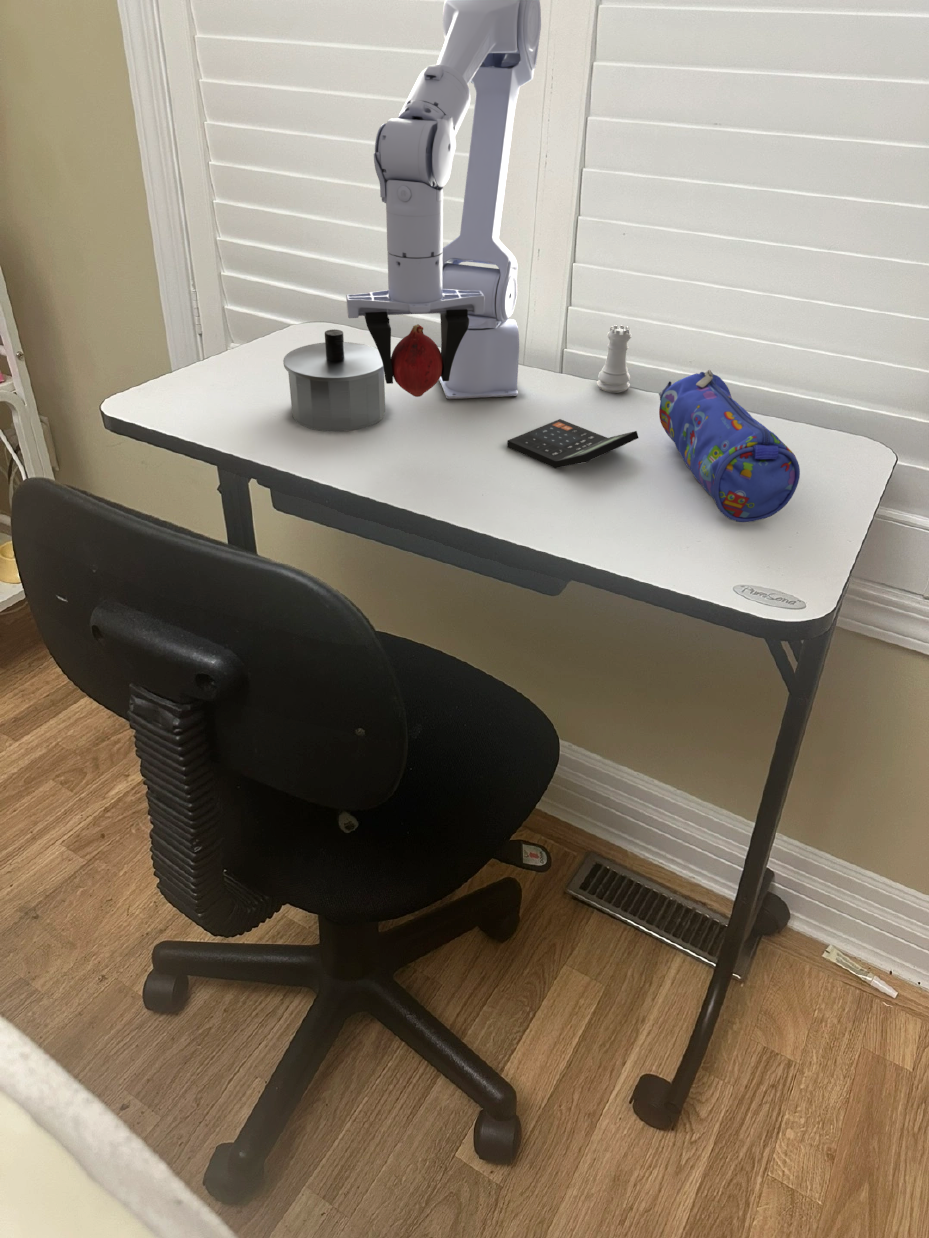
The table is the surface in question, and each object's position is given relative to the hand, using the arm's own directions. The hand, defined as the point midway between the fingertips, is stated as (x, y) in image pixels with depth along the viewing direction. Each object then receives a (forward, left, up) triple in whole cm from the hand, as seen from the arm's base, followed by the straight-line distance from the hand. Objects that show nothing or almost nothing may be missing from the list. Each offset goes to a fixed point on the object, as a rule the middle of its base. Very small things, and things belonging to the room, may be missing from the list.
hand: (416, 379), depth 101 cm
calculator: (-17, +4, -8) cm, 20 cm away
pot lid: (+9, -10, -2) cm, 14 cm away
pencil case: (-31, +13, -8) cm, 35 cm away
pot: (+9, -10, -8) cm, 16 cm away
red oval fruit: (0, 0, -2) cm, 2 cm away
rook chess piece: (-28, -15, -8) cm, 33 cm away
